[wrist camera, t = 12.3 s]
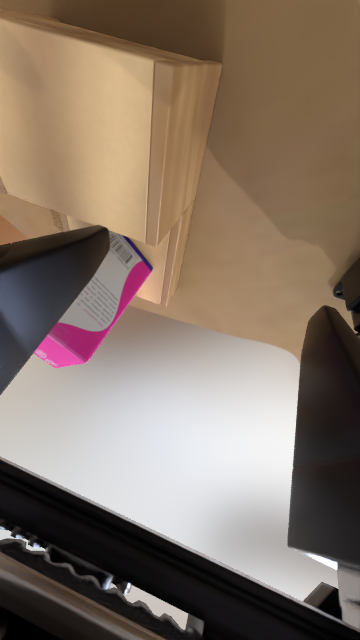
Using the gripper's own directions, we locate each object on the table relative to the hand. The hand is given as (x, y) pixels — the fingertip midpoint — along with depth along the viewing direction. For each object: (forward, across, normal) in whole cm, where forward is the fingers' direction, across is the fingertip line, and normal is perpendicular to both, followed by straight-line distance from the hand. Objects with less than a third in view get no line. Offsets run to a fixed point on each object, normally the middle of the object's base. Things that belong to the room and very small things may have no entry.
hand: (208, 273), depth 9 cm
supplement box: (+10, +10, +9) cm, 17 cm away
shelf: (+13, +10, +4) cm, 17 cm away
